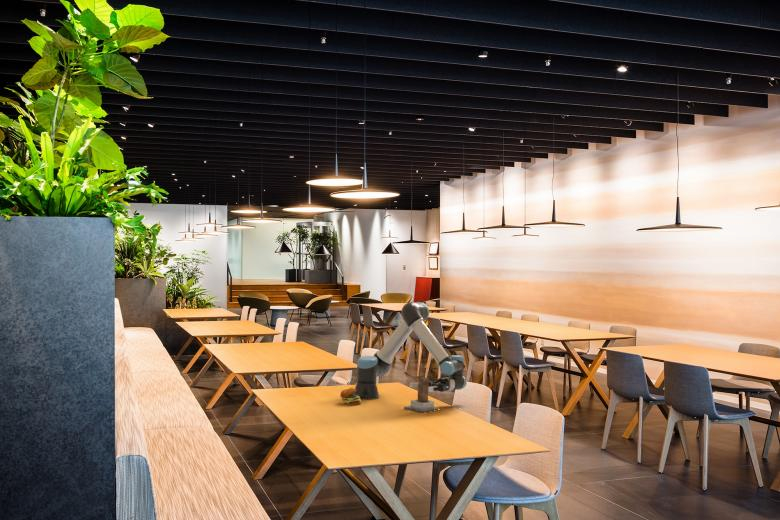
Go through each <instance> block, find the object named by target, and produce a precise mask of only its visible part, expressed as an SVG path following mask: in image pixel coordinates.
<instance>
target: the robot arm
mask: <svg viewBox="0 0 780 520" xmlns="http://www.w3.org/2000/svg"><path fill="white" fill-rule="evenodd" d="M429 316H430V309H429V307H428V306H427V304H426V303H424V302H421V301H415V302H414V301H409V302H406V303H405V304H404V305H403V306H402V308H401V321H400V322H399V324H398V325H397V327H396V328H395V329H394V331H393V332H392V333H391V335H390V337H389V338H388V339H387V341H386V342H384V343H385V344H384V345H383V346H382V348H381V349H380V350H377V351H376V352H375V353H374V354H373V355H362V356H360V357H359V358H358V359H357V364H356V383H355V387H354V389H356V390H357V391H356V392H355V393H354V394H353V395H358V396H359V397H360V400H375V399H377V400H378V399H379V395H380V394H379V391H378V387H377V385H378V384H377V378H378V377H379V378H380V377H382V376H384V375H386V374H388V372H389V371H390V369H391V365H392V364H393V358H394V357H395V355H396V354H397V353H398V351H399V350H400V348H401V347H402V346H403V345H404V343H405V342H406V340H407V339H408V337H409V336H410V335H411V333H412V332H414V333H415V335H416V336H417V337H418V339H419V340H420V342H421V343H422V344H423V345H424V347H425V348H426V350H427V351H428V352H429V353H430V354H431V356H432V358H433V359H434V360H435V362H436V363H437V365H438V366H439V370H440V372H441V374H442V375H443V376H445V377H439V378H437V380H436V381H435V380H434V381H432V380H429V386H428V393H433V392H440V393H442V392H448V393H449V392H450V391H456V390H463V389H465V388H466V386H467V383H468V382H467V380H466V377H465V376H464V363H465V362H464V361H465V360H464V359H465V358H464V357H463V355H456V354H455V355H454V354H452V355H451V356H450V355H449V354H448V353H447V352H446V350H445V349H444V348H443V346H442V345H441V343H440V342H439V341H438V339H437V338H436V336H435V335H434V334H433V333H432V331H431V330H430V328H429V327H428V326H427V325H426V323H425V322H424V321H426V320H428V318H429ZM447 376H448V377H447ZM414 388H416V389H418V381H415V382H409V389H414Z"/></svg>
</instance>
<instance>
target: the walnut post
mask: <svg viewBox="0 0 780 520" xmlns="http://www.w3.org/2000/svg"><path fill="white" fill-rule="evenodd" d="M417 380H418V381H417V382H418V388H417V399H416V400H417V401H418V402H422V403H424V402H428V400H429V392H428V386H429V381H430V379H429V377H424V376H421V377H418V379H417Z"/></svg>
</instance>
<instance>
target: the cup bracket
mask: <svg viewBox="0 0 780 520" xmlns="http://www.w3.org/2000/svg"><path fill="white" fill-rule="evenodd" d="M417 400H418V399H412V400H410V405H406V406H403V409H405V410H409V411H412V410H413V412H417V413H421V412H422V414H424V412H426V413H431V412H430V411H433V412H435V411H434V410H438V409H440V410H441V407H436V406H435V401H434V400H429V399H428V402H424V403H422V402H418V401H417Z"/></svg>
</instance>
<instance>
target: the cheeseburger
mask: <svg viewBox="0 0 780 520" xmlns="http://www.w3.org/2000/svg"><path fill="white" fill-rule="evenodd" d="M356 391H357V390H356V389H355V387H349V388H347V389H344V390H341V392H340V398H342V399H341V400H342V401H343V404H344V405H347V406H353V405H361V404H362V399H360V397H359V396H358V395H353V394H354V393H355V392H356Z"/></svg>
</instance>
